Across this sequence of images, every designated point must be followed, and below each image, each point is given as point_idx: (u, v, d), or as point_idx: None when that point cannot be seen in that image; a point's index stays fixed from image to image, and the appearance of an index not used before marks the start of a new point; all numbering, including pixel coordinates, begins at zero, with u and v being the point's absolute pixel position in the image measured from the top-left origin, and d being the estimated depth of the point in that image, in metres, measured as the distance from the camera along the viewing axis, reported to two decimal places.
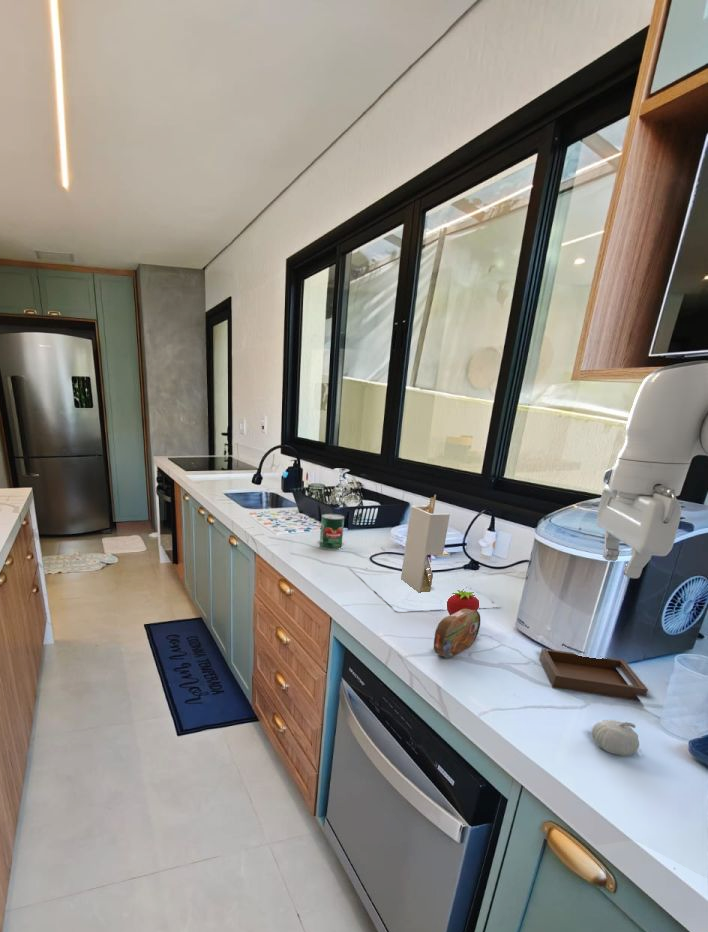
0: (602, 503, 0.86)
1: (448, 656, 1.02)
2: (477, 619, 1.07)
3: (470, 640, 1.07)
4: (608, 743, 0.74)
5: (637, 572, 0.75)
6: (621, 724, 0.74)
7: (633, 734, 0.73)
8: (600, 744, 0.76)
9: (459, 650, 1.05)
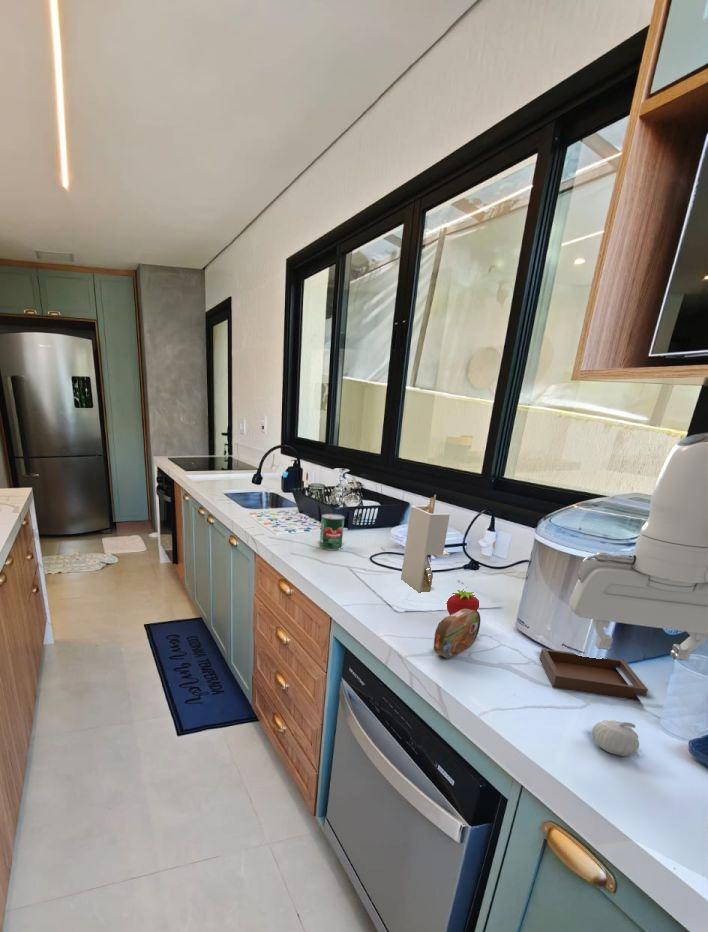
0: None
1: (448, 656, 1.02)
2: (477, 619, 1.07)
3: (470, 640, 1.07)
4: (608, 743, 0.74)
5: (599, 642, 0.72)
6: (621, 724, 0.74)
7: (633, 734, 0.73)
8: (600, 744, 0.76)
9: (459, 650, 1.05)
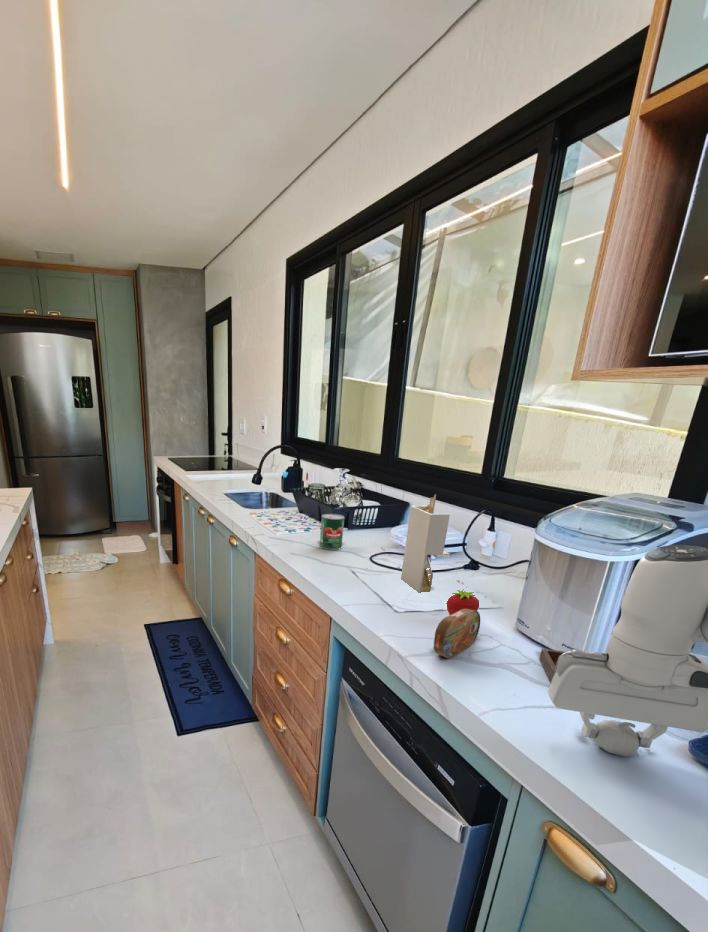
0: None
1: (448, 656, 1.02)
2: (477, 619, 1.07)
3: (470, 640, 1.07)
4: (608, 743, 0.74)
5: (585, 731, 0.76)
6: (621, 724, 0.74)
7: (633, 734, 0.73)
8: (600, 744, 0.76)
9: (459, 650, 1.05)
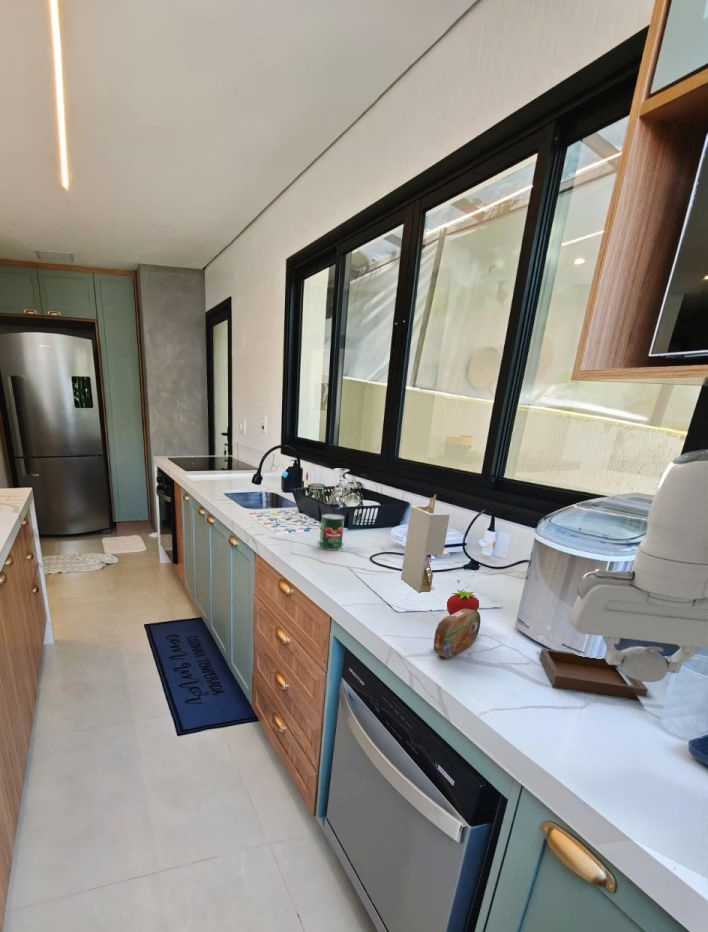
0: None
1: (448, 656, 1.02)
2: (477, 619, 1.07)
3: (470, 640, 1.07)
4: (634, 668, 0.70)
5: (609, 658, 0.72)
6: (648, 649, 0.71)
7: (661, 658, 0.69)
8: (626, 671, 0.72)
9: (459, 650, 1.05)
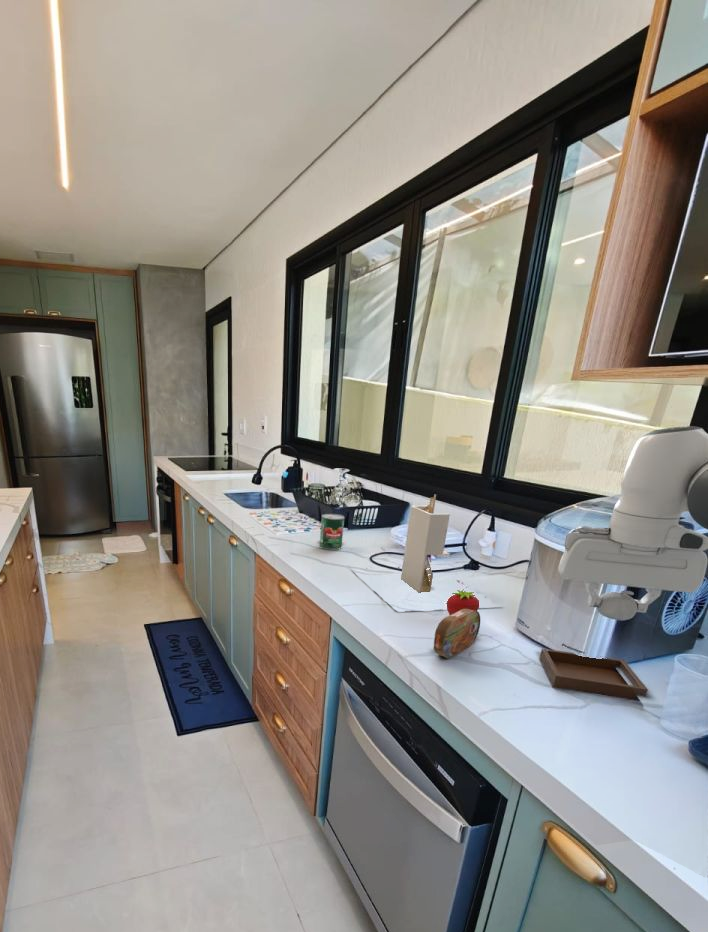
0: None
1: (448, 656, 1.02)
2: (477, 619, 1.07)
3: (470, 640, 1.07)
4: (610, 608, 0.86)
5: (590, 601, 0.88)
6: (621, 592, 0.86)
7: (632, 600, 0.85)
8: (603, 612, 0.87)
9: (459, 650, 1.05)
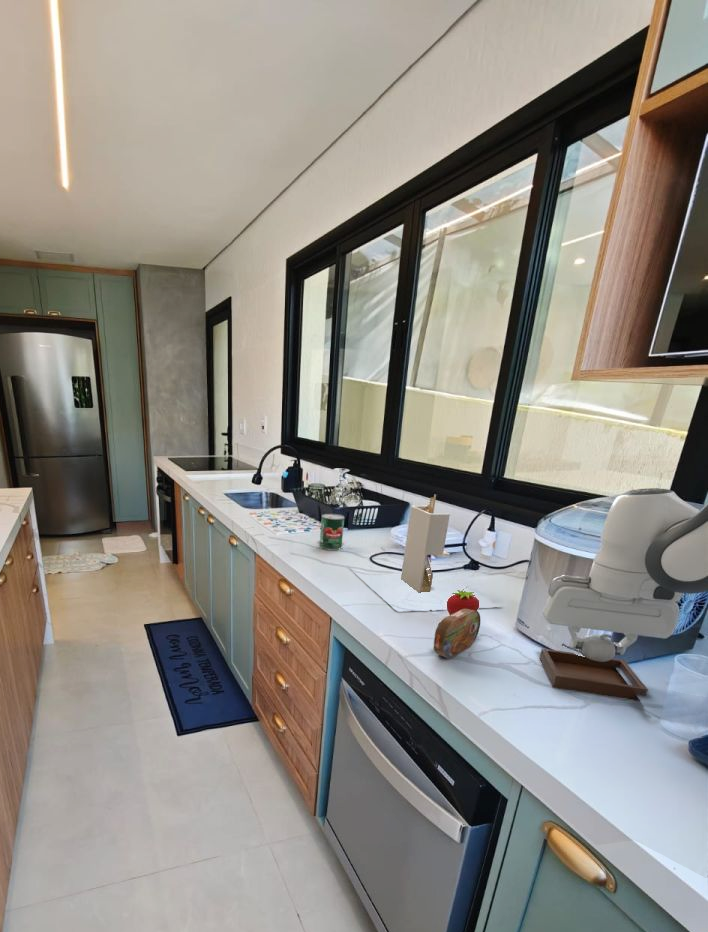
0: None
1: (448, 656, 1.02)
2: (477, 619, 1.07)
3: (470, 640, 1.07)
4: (590, 650, 0.92)
5: (572, 643, 0.94)
6: (601, 636, 0.93)
7: (610, 643, 0.91)
8: (584, 653, 0.94)
9: (459, 650, 1.05)
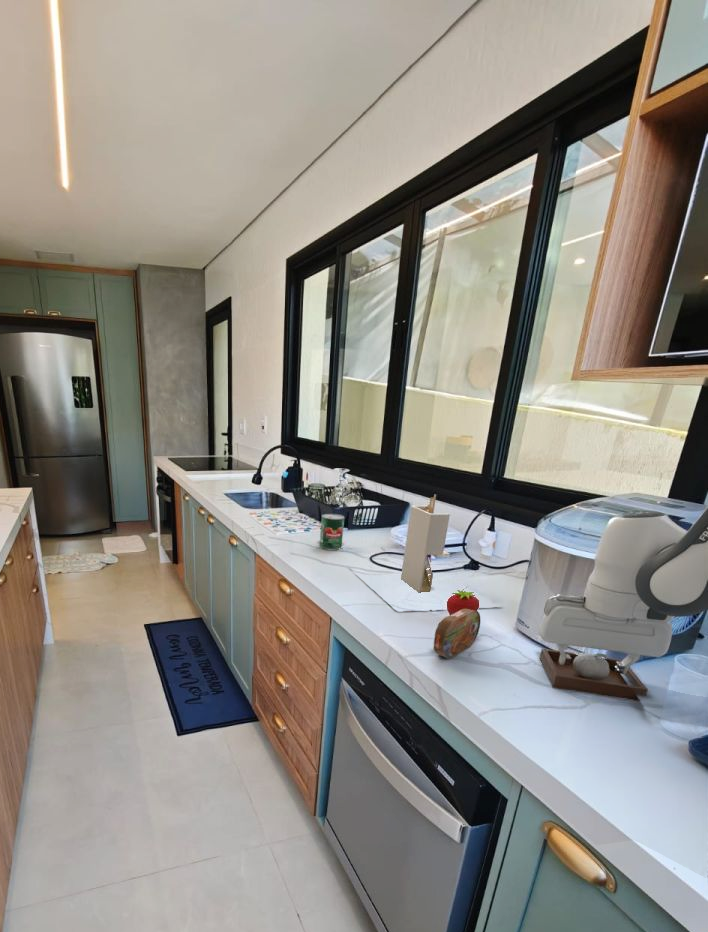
0: None
1: (448, 656, 1.02)
2: (477, 619, 1.07)
3: (470, 640, 1.07)
4: (585, 670, 0.94)
5: (561, 660, 0.96)
6: (595, 655, 0.94)
7: (604, 662, 0.93)
8: (579, 672, 0.95)
9: (459, 650, 1.05)
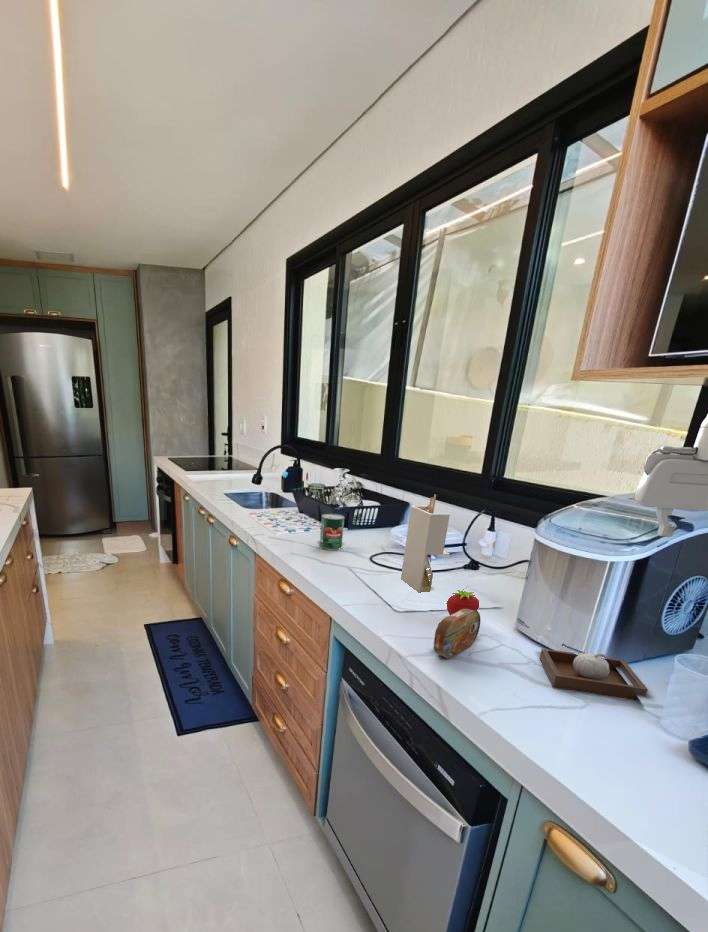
0: None
1: (448, 656, 1.02)
2: (477, 619, 1.07)
3: (470, 640, 1.07)
4: (585, 670, 0.94)
5: (662, 530, 0.81)
6: (595, 655, 0.94)
7: (604, 662, 0.93)
8: (579, 672, 0.95)
9: (459, 650, 1.05)
